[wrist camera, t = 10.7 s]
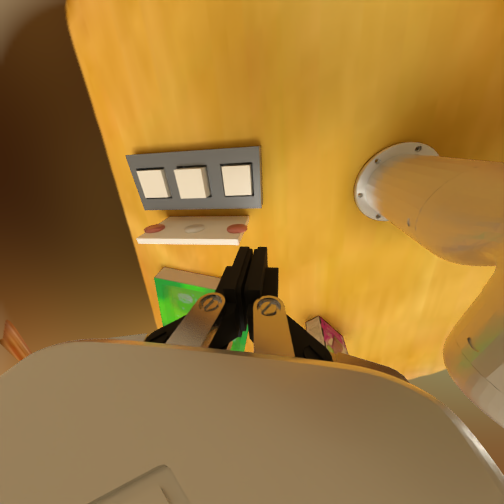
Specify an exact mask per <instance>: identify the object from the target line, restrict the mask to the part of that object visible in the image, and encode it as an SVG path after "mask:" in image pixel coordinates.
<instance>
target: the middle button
mask: <svg viewBox="0 0 504 504" xmlns="http://www.w3.org/2000/svg"><path fill="white" fill-rule="evenodd" d="M174 173H175V177H176V181H177V185H178V189H179V193H180V197H181V199H185V198H207V197H208V196H209V195H211V189H210V183H209V177H208V171H207V167H188V168H179V169H176V170H174Z"/></svg>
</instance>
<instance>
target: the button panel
mask: <svg viewBox="0 0 504 504" xmlns="http://www.w3.org/2000/svg"><path fill="white" fill-rule="evenodd" d="M125 156H126V159H127V161H128V164H129V167H130V170H131V173H132V175H133V178H134V181H135V184H136V187H137V189H138V192H139V195H140V198H141V201H142V203H143V206H144V209H145V210H182V209H241V208H262V205H263V192H262V161H261V146H252V147H238V148H223V149H208V150H194V151H179V152H165V153H150V154H136V155H125ZM250 163H252V168H253V186H254V192H253V193H252V195H233V196H225V190H224V182H223V175H222V166H224V165H232V164H250ZM188 167H207V171H208V177H209V183H210V189H211V195H209V196H208V197H207V198H185V199H181V197H180V193H179V189H178V185H177V181H176V177H175V173H174V170H176V169H179V168H188ZM158 168H164V169H165V173H166V176H167V180H168V184H169V187H170V191H171V195H172V196H170V197H162V198H145V195H144V192H143V189H142V186H141V183H140V180H139V178H138V175H137V172H136V171H140V170H145V169H158ZM248 222H249V216H184V217H168V218H167V219H165V220H164V221H162V222H161V223H159V224H156V225H151V226H149V227H146V228H145V229H144V231H145V233H144V234H142V235H141V236H139V237H138V238H136V239H137V241H138V244H206V245H239V243H240V241H241V238H242V236H243V234H244V232H245V231H246V230H247V224H248Z"/></svg>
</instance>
